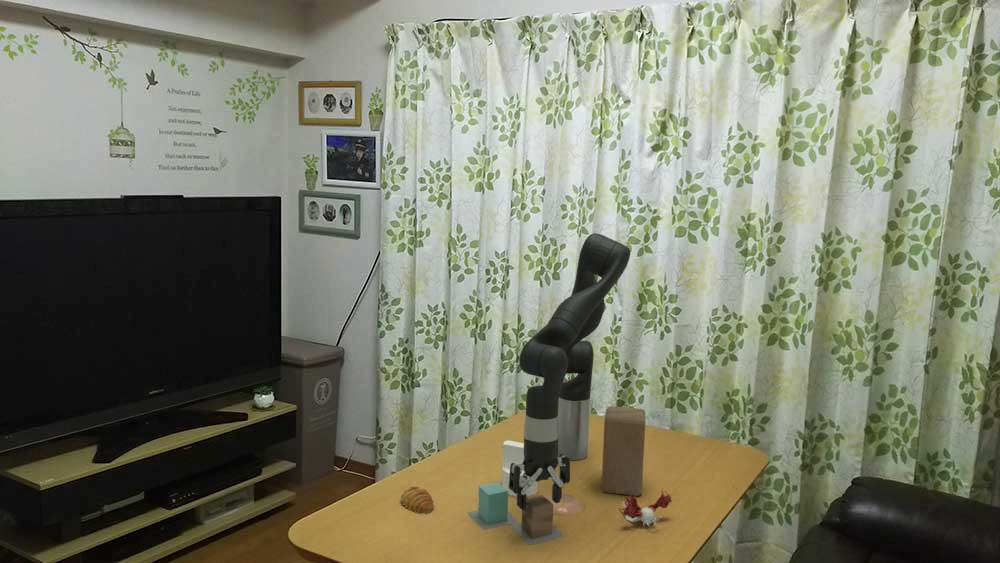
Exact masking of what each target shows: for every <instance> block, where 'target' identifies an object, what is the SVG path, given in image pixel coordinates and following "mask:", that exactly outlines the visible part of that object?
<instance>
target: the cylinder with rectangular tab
mask: <svg viewBox="0 0 1000 563" xmlns="http://www.w3.org/2000/svg"><path fill="white" fill-rule="evenodd" d="M523 461H524V442H519V441H513V440H506V441H504V442H503V444H502V469H501V470H502V474H501V475H502V476H501V485H502V486H503V487H504V488H505V489H506V490H508V496H511V497H516V498H517V493H516V494H515V493H514V492H513V491H512V490H510V489H509V476H510V465H511V463H515V464H522V463H523ZM523 473H524V469H523V470H522V474H520V478H521V476H522V475H523ZM529 479H530V478H529V476H528V478H527V480H529ZM538 484H539V481H538V482H536V481H535V482H534V483H533V485H532V486H531V487H529V489H528V490H527V492H526V493H525V494H527V497H532V496H533V495H535V494H536V493H537V492H538V487H539V486H538Z"/></svg>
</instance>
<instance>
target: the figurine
mask: <svg viewBox="0 0 1000 563" xmlns="http://www.w3.org/2000/svg"><path fill="white" fill-rule="evenodd" d="M628 496H629V497H627V496H626V495H624V498H625V499H623V501H622V506H623V507H624V508H621V507H619V508H617V510H618V511H620V513H621V514H622V515H623V516H625V520H626V521H629V522H631V523H636V522H639V521H642V523H643V526H645V525H646V526H648V527H650V524H652V523H653V524H654V526H655V527H657V526H656V525H658V524H657V522H658V521H660V519H661V518H662V515H659V516H657V517H656V516H655V517H654V513H655V512H656V510H657V509H658V508H662V509H667V508H668V506H669V505H670V503H672V502H673V501H672V496H671V494H670V493H667V491H663V490H661V495H660V497H659V498H658V499H657V500H656V502H655V503H653V504H649V505H648V506H647V507H646V506H644V507H640V506H639V505H638V499H637V496H636V493H635V494H634V495H628ZM633 517H634V518H633ZM643 528H644V530H645V527H643Z"/></svg>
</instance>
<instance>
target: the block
mask: <svg viewBox="0 0 1000 563" xmlns="http://www.w3.org/2000/svg"><path fill="white" fill-rule="evenodd" d="M603 423H604V425H603V426H604V427H603V442H602V443H603V445H602V446H603V447H602V465H601V469H602V470H601V485H600V486H601V490H602V492H604V493H608V494H619V495H625V496H626V495H628V496H629V495H632V496H634V494H635V493H636V497H638V496H641V494H642V491H643V478H644V477H643V476H644V475H643V472H644V456H645V438H646V437H645V436H646V411H645V409H642V408H635V407H623V406H611V405H610V406H607V407H606V410H605V414H604V422H603Z"/></svg>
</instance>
